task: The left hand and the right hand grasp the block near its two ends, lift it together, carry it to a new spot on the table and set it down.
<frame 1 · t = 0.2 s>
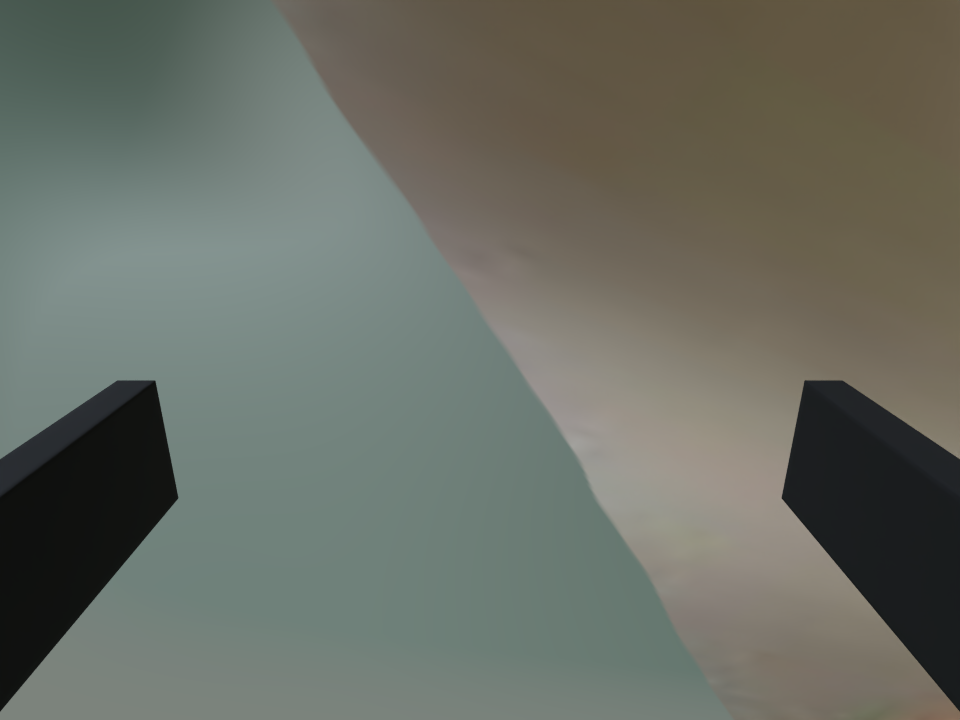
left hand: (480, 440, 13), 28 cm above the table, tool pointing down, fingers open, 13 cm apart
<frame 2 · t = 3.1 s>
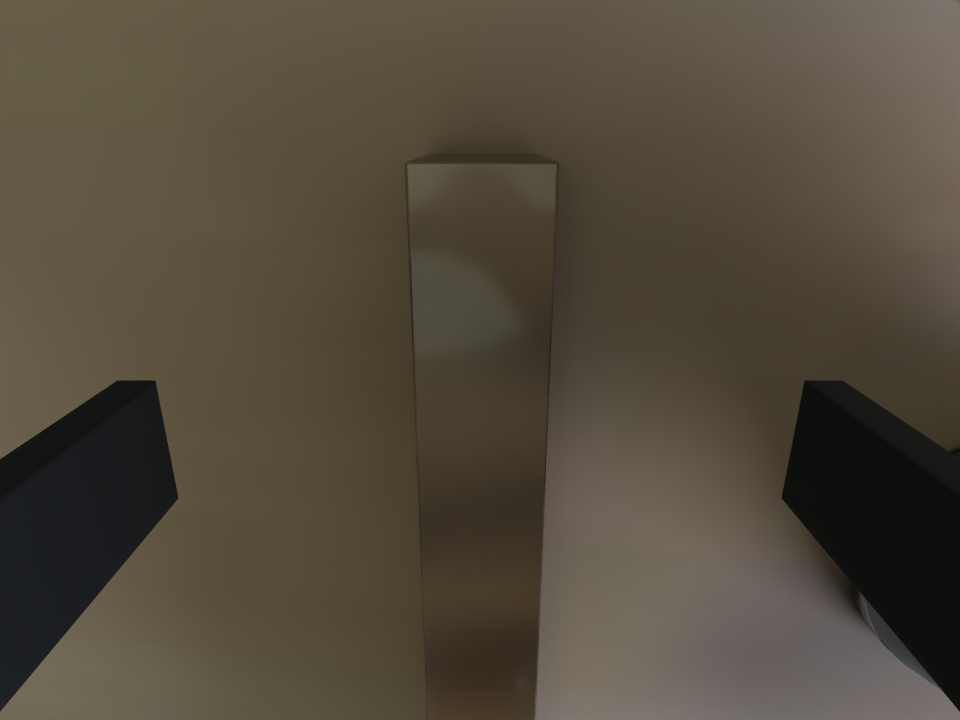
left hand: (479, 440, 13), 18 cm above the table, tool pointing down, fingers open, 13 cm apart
block: (481, 662, 38), on the table, touching right hand
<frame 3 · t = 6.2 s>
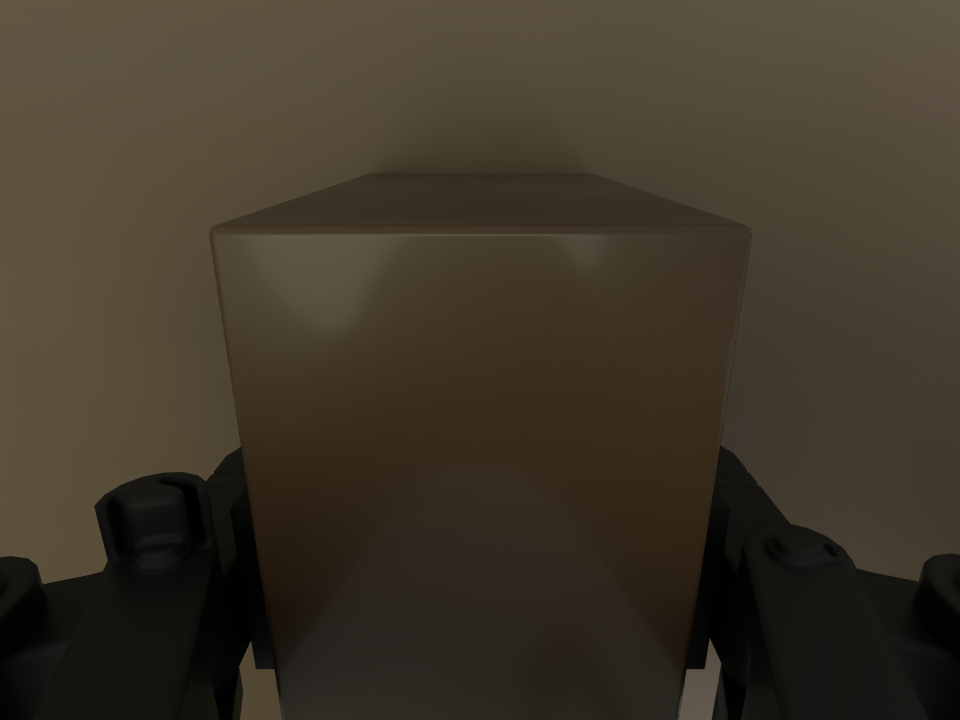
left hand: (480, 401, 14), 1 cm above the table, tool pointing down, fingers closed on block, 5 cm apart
when the left hand's fingers open (2 cm above the table, at t = 10.7 s): block drops 1 cm, on the table.
when the right hand's fingers open (5 cm above the table, at t = 10.9 s): block stays where it is, on the table.
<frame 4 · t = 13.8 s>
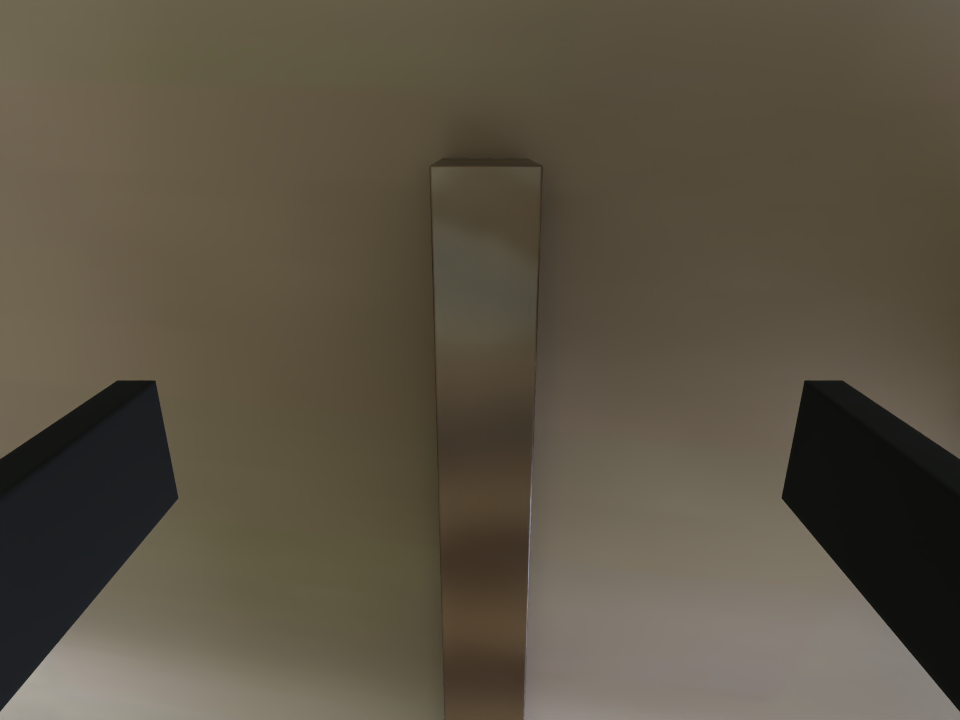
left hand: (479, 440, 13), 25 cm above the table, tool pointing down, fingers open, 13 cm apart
block: (483, 584, 45), on the table
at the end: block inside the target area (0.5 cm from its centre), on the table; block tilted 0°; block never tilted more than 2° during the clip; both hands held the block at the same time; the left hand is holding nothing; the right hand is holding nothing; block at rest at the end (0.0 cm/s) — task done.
